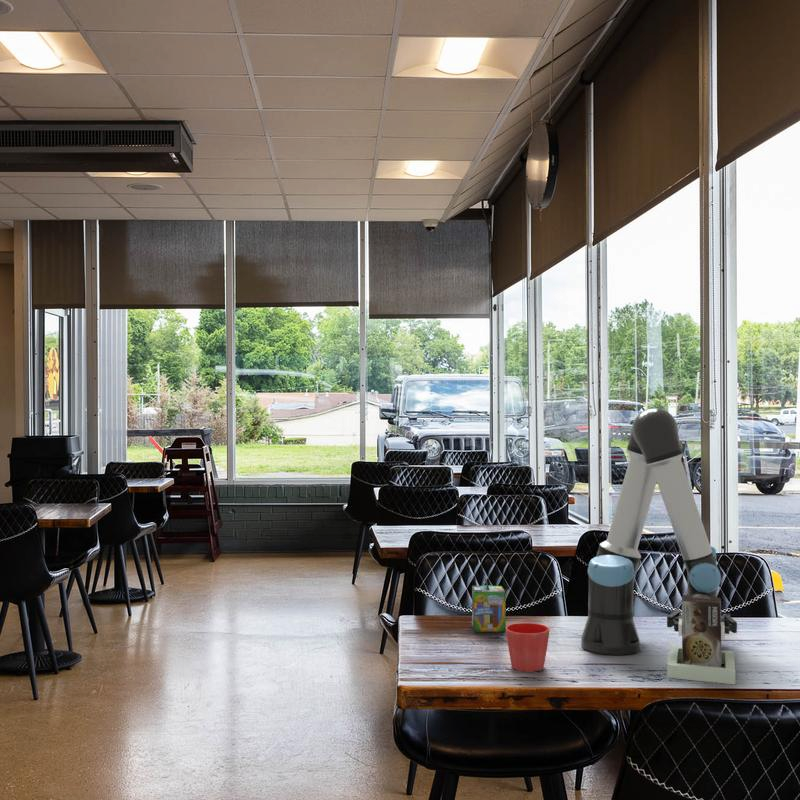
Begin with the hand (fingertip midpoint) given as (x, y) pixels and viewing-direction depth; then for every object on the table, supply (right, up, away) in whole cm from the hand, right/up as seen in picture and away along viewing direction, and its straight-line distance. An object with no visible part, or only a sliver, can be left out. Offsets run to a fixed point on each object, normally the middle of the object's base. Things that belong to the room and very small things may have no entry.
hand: (701, 632), depth 213 cm
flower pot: (-41, -10, +5) cm, 42 cm away
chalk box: (-46, -10, +43) cm, 64 cm away
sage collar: (+1, -10, +4) cm, 11 cm away
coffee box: (+1, -9, +4) cm, 10 cm away
